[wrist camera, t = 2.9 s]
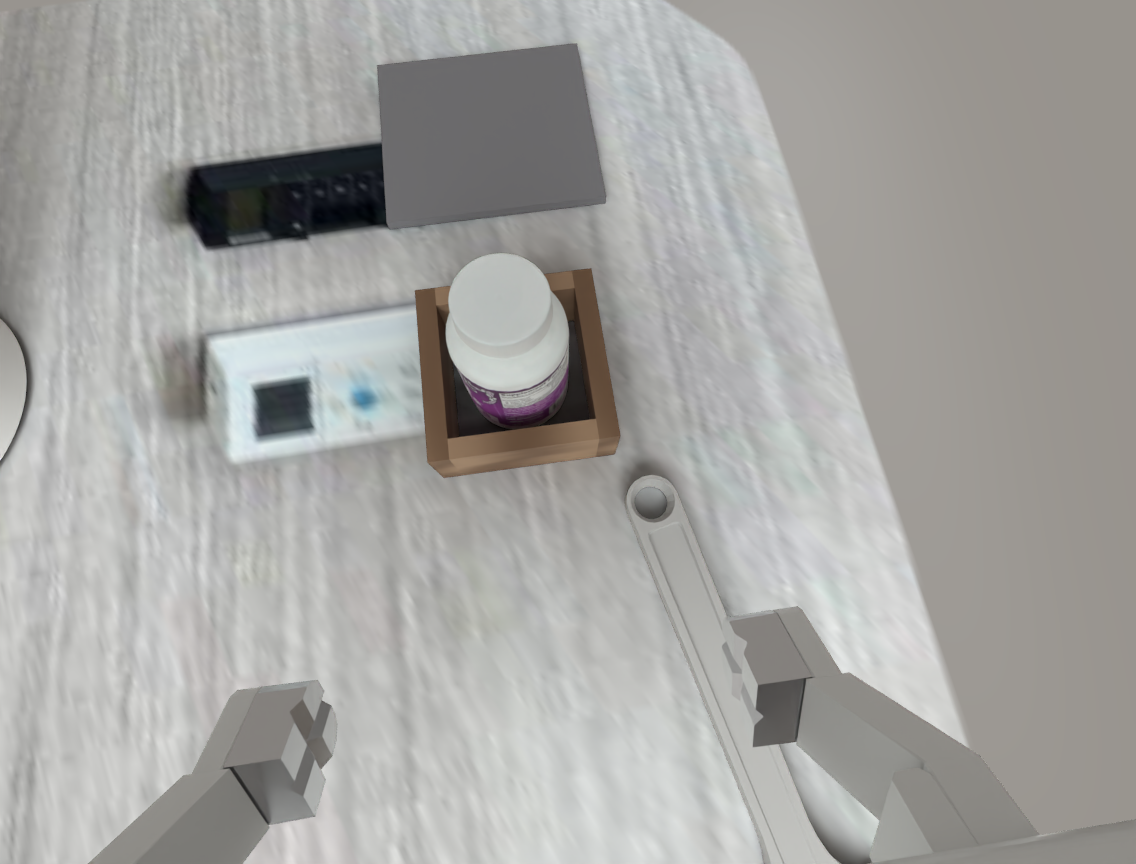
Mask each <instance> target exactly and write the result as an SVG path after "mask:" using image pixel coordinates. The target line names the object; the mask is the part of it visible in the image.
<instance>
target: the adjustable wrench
mask: <svg viewBox="0 0 1136 864" xmlns="http://www.w3.org/2000/svg"><path fill="white" fill-rule="evenodd" d="M646 487H655V488H657V489H659V490H661V491H662V492H663V493H664V495H665V497H666V500H667V508H666V510H665V512H664V513H663V515H662V516H660V517H658V518H655V519H647V518H645V517H643V516H641V515H640V514H639V513H638V511H637V510H636V507H635V497H636V495H637V493H638V492H639V491H640V490H641V489H643V488H646ZM625 508H626V512H627V515H628V517H629V520H630V522H631V525H632V527H633V529H634V532H635V534H636V537H637V539H638V542H639V544H640V547H641V549H642V552H643V554H644V557H645V559H646V561H647V564H648V566H649V569H650V571H651V574H652V576H653V579H654V581H655V584H656V586H657V589H658V591H659V593H660V596H661V598H662V601H663V603H664V606H665V608H666V611H667V613H668V616H669V618H670V620H671V623H672V625H673V628H674V630H675V633H676V635H677V638H678V640H679V643H680V645H681V648H682V650H683V652H684V655H685V657H686V660H687V662H688V665H689V667H690V670H691V672H692V675H693V677H694V680H695V682H696V684H697V687H698V689H699V692H700V694H701V697H702V699H703V702H704V704H705V707H706V709H707V711H708V714H709V716H710V719H711V721H712V724H713V726H714V729H715V731H716V734H717V736H718V739H719V741H720V743H721V746H722V748H723V751H724V753H725V756H726V758H727V761H728V763H729V766H730V768H731V771H732V773H733V775H734V778H735V780H736V783H737V785H738V788H739V790H740V793H741V795H742V798H743V800H744V802H745V805H746V807H747V810H748V812H749V815H750V817H751V820H752V822H753V825H754V827H755V830H756V833H757V836H758V839H759V843H760V846H761V850H762V856H763V862H764V864H842V863H840V862H839V861H838V860H836V859H835V858H834V857H832V856H831V855H830V854H829V853H828V851H827V850H826V848H825V847H824V845H823V844H822V842H821V841H820V839H819V838H818V837H817V835H816V833H815V831H814V829H813V827H812V825H811V823H810V821H809V819H808V816H807V814H806V811H805V809H804V806H803V804H802V801H801V799H800V796H799V794H798V792H797V789H796V787H795V784H794V782H793V779H792V777H791V774H790V772H789V769H788V767H787V764H786V762H785V759H784V757H783V754H782V752H781V749H780V747H779V744H776V745H768V746H760V747H752V745H751V742H750V740H749V737H748V735H747V732H746V730H745V727H744V725H743V722H742V720H741V718H740V701H739V700H738V699H737V698H735V697H734V696H733V695H731V692H730V689H729V687H728V684H727V681H726V678H725V674H724V670H723V664H722V645H723V644H724V643H725V642H726V639H725V637H724V634H723V632H722V623H723V620H724V618H725V617H727V615H726V612H725V610H724V607H723V605H722V603H721V600H720V598H719V595H718V593H717V590H716V588H715V585H714V583H713V580H712V578H711V575H710V573H709V570H708V568H707V565H706V563H705V560H704V558H703V555H702V553H701V550H700V548H699V545H698V543H697V540H696V538H695V535H694V533H693V530H692V528H691V525H690V523H689V520H688V518H687V515H686V513H685V510H684V508H683V506H682V503H681V501H680V498H679V496H678V493H677V491H676V489H675V488H674V486H673V484H671V483H670V482H669V481H668V480H667V479H665V478H663V477H660V476H657V475H647V476H643V477H641V478H639V479H637V480H636V481H635V482H634V483H633V484H632V485H631V486H630V488H629V490H628V492H627V495H626V497H625Z"/></svg>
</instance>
